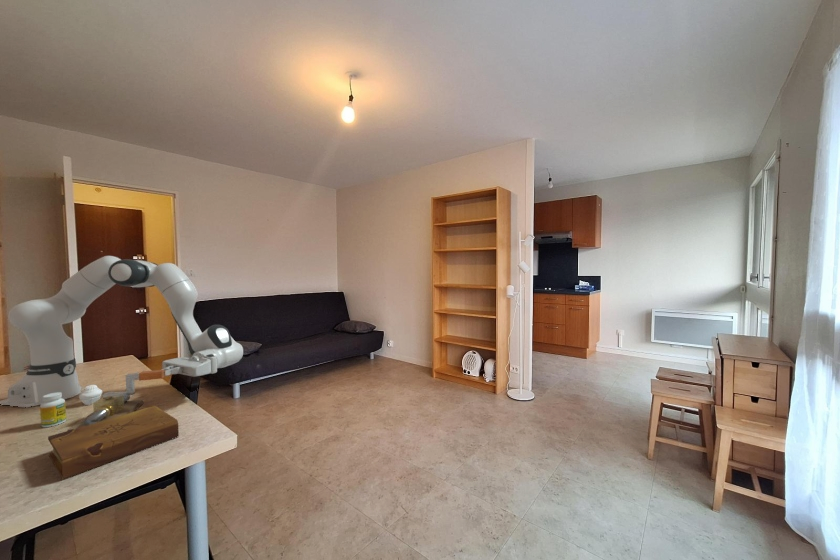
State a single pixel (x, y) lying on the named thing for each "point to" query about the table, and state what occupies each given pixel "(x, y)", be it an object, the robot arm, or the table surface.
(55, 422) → the supplement bottle
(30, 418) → the table surface
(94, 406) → the ball valve
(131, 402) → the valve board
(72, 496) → the table surface
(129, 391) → the valve lever
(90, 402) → the muffin
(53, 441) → the brown wooden block
